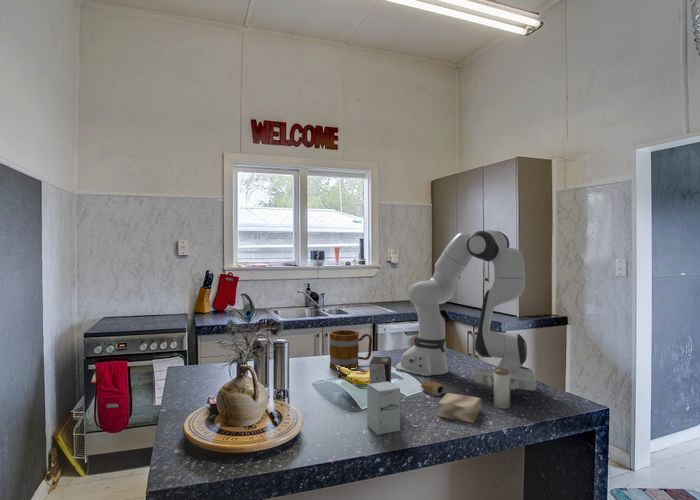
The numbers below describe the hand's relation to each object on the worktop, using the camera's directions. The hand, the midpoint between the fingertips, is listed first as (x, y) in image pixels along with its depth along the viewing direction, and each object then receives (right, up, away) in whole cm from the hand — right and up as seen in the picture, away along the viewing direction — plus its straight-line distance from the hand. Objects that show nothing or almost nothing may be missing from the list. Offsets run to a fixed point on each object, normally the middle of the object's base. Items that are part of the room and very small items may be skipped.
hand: (501, 385), depth 142 cm
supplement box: (-41, -7, -17) cm, 45 cm away
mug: (-50, -7, +49) cm, 70 cm away
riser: (-15, -7, -6) cm, 18 cm away
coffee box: (-40, -7, -2) cm, 41 cm away
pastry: (-20, -7, +14) cm, 26 cm away
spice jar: (0, -7, +1) cm, 7 cm away
